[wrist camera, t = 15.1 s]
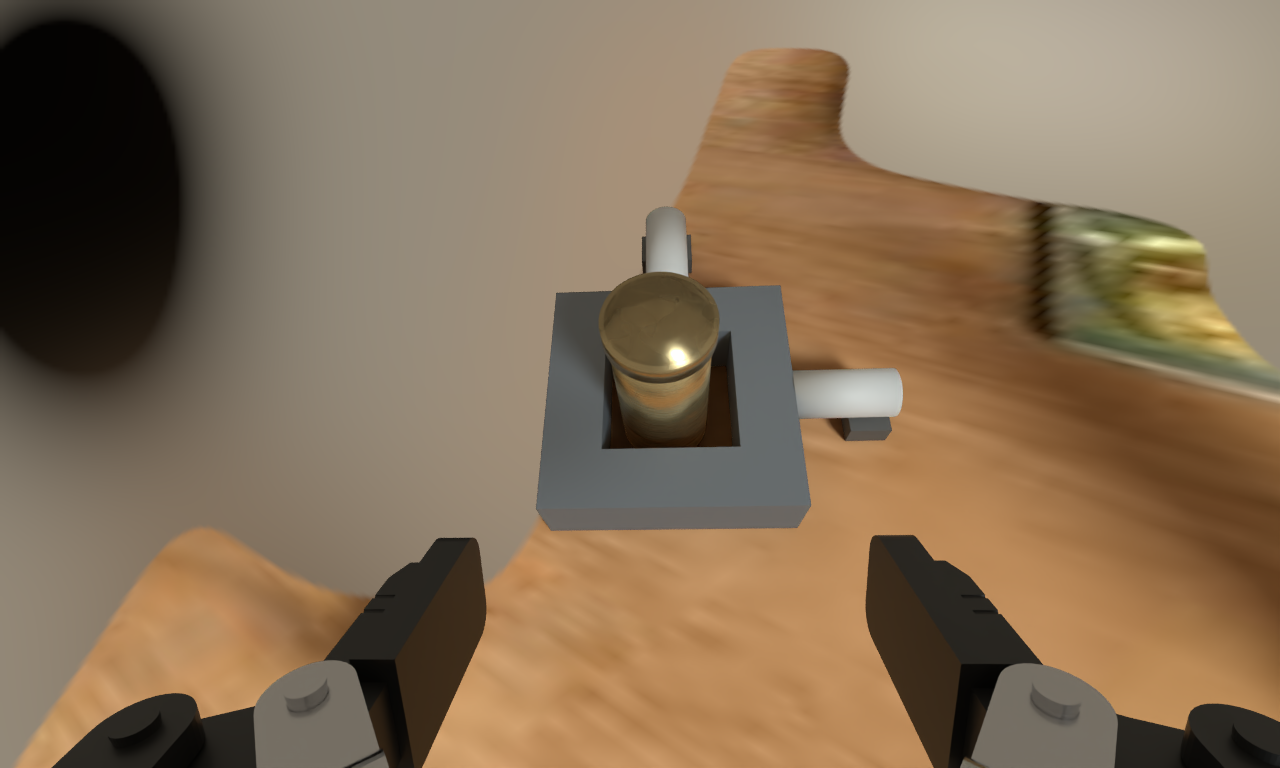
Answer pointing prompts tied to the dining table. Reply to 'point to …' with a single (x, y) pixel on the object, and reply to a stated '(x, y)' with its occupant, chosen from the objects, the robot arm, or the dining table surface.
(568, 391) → the shaft housing
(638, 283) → the gold cylindrical piece
